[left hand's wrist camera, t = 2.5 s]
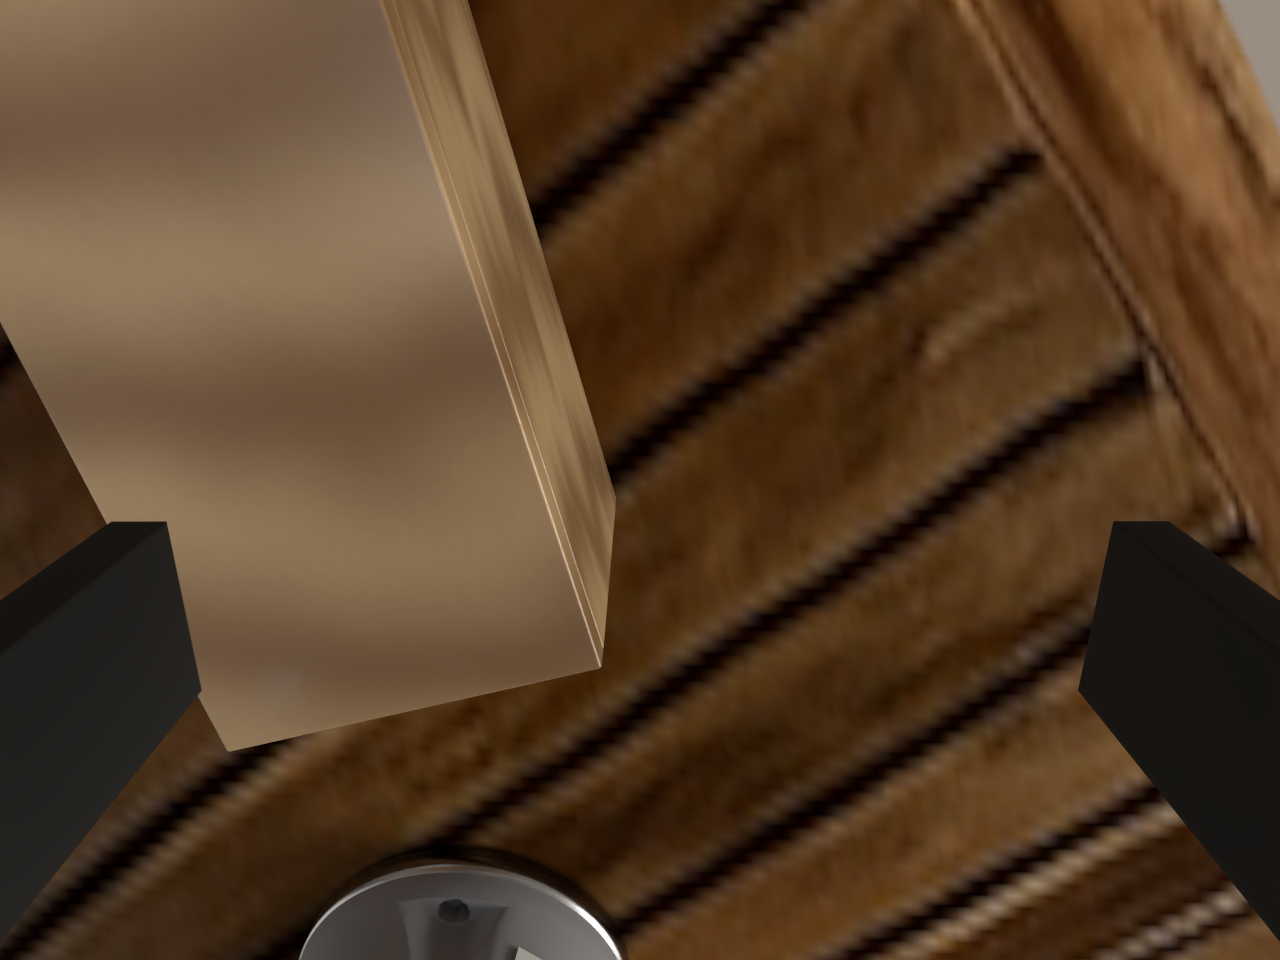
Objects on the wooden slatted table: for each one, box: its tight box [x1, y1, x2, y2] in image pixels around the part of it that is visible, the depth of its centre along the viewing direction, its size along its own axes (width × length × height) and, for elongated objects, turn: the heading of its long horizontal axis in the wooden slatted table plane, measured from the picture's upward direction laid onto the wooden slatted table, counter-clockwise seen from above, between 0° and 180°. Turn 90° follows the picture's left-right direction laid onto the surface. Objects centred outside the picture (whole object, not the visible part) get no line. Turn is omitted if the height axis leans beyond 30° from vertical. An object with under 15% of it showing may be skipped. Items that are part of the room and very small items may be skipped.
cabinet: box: [0, 0, 616, 751], centre depth 25 cm, size 18×10×11 cm, turn 15°
